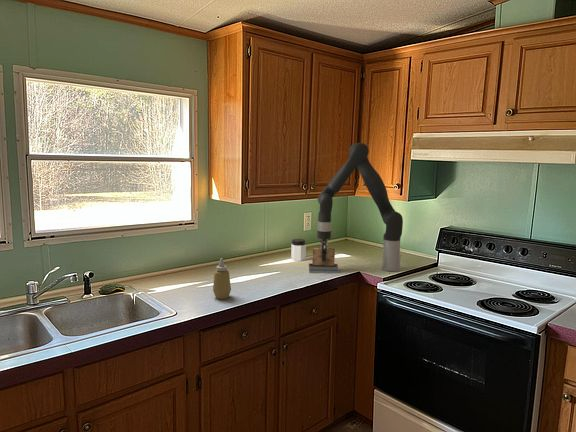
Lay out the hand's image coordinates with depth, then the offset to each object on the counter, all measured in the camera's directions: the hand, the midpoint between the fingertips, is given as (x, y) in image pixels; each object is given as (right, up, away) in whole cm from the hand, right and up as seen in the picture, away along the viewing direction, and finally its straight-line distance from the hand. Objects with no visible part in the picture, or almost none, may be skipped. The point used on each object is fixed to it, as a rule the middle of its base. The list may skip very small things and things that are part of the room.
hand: (323, 260), depth 235 cm
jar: (-13, -2, +26) cm, 29 cm away
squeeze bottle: (-49, -12, -43) cm, 67 cm away
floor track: (0, -6, +1) cm, 6 cm away
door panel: (0, -3, 0) cm, 3 cm away
